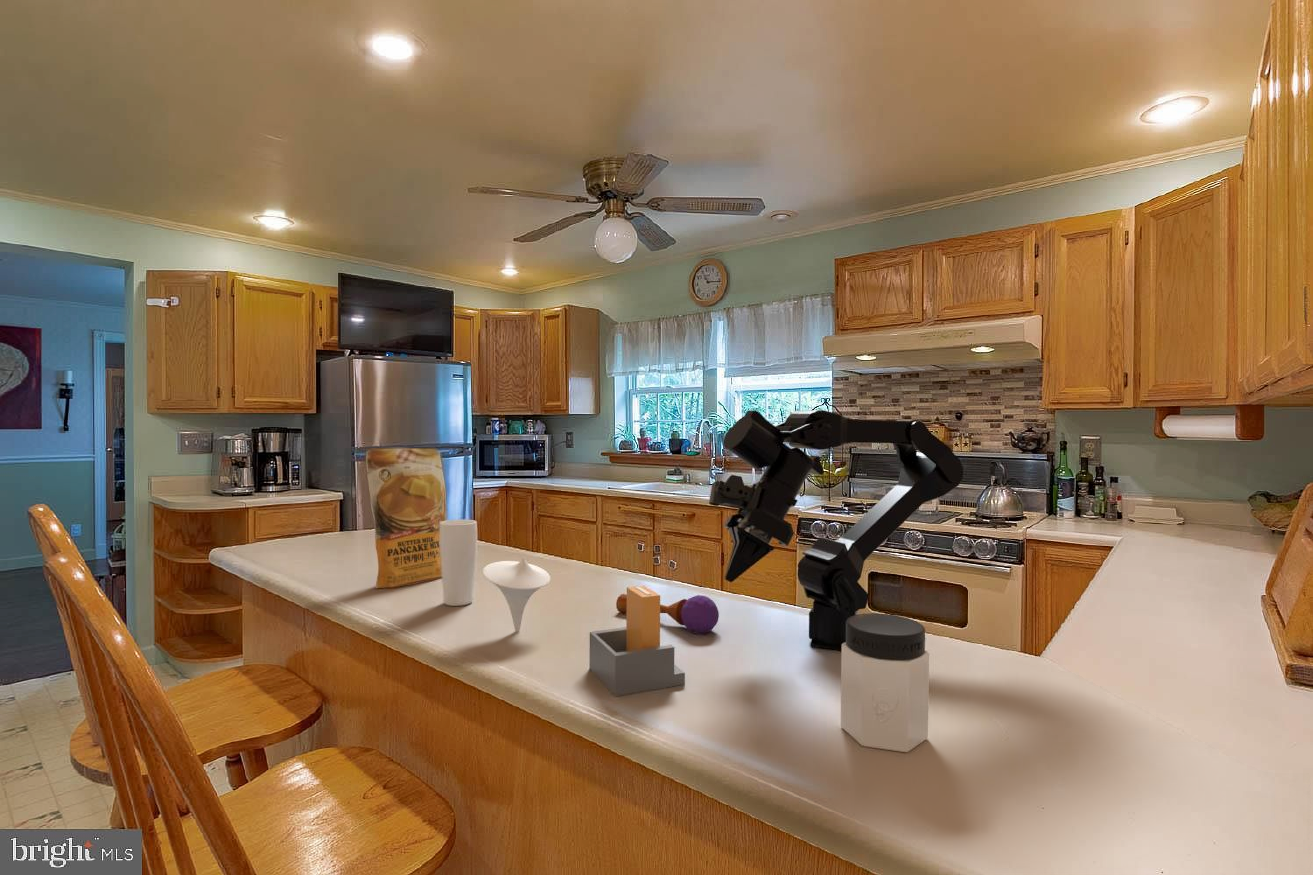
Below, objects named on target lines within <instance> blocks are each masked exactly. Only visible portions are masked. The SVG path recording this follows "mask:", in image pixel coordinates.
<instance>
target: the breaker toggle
mask: <svg viewBox="0 0 1313 875" xmlns="http://www.w3.org/2000/svg"><path fill="white" fill-rule="evenodd" d="M626 595H627V613H626V626H625V627H626V651H632V650H639V649H646V648H652V647H659V646H661V613H660V604H661V594H658V592H656V591H654V590H652V589H651V588H648V587H647V586H646V585H635V586H627V587H626Z"/></svg>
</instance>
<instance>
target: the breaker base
mask: <svg viewBox="0 0 1313 875" xmlns="http://www.w3.org/2000/svg"><path fill="white" fill-rule="evenodd" d="M588 665H589V670H590V671H591V672H592V673H593V674H594V675H595V676H596V677H597V679H598V680H600V681H601V684H603V685H604V686H605V687H606V688H607V689H608V691H610V692H611V694H612V695H613V696H614V697H621V696H626V695H633V694H637V693H644V692H649V691H655V690H660V689H665V688H666V689H667V688H671V687H672V688H673V687H678V686H683V685H685V684H686V680H685V679H686V672H685V671H683V670H682V669H681V668H679V667H678V666H677V665H676V664H675V646H674V645H672V644H666V645H660V646H659V647H652V648H646V649H639V650H632V651H626V626H625V627H619V628H618V627H617V628H611V629H602V630H596V631H595V630H593V631H590V632H589V664H588Z"/></svg>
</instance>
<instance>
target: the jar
mask: <svg viewBox="0 0 1313 875" xmlns="http://www.w3.org/2000/svg"><path fill="white" fill-rule="evenodd" d="M840 654H841V656H840V657H841V658H840V660H841V661H840V662H841V663H840V666H841V667H840V669H841V671H840V672H841V673H840V727H841V728H842V729H843V730H844V731H845V732H846V733H847V734H848V735H850V737H851V738H852V739H854V740H855V741H856V742H857V743H858V744H859V745H860V746H861V747H864V748H865V747H866V748H872V749H880V750H887V751H893V752H899V753H906V754H907V753H909V752H910V751H912V750H913V749H914V748H916V747H917V746H920V744H922V743H923V742H924V741H926V740H927V739H928V738H929V692H930V691H929V685H930V683H929V681H930V679H929V678H930V652H928V651H927V650H926V627H925V626H924V625H923V624H921V623H920V622H918V621H916V620H914V619H911V618H909V617H905V616H901V615H900V616H899V615H895V614H888V613H876V612H873V613H872V612H871V613H870V612H869V613H859V614H858V613H857V615H854V616H851V617H849V618H848V619H847V620H846V642H845V643H842V650H841V653H840Z"/></svg>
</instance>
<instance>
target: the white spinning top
mask: <svg viewBox="0 0 1313 875" xmlns="http://www.w3.org/2000/svg"><path fill="white" fill-rule="evenodd" d="M482 576H483V577H484V578H485V579H486V580H487V581H489V582H490V583H492V584H493V585H494V586H495V587H497V588H498V589H499V591H500V592H501V593H502V595H503V596H504V598H505V600H506V602H507V605H508V608H509V611H510V614H511V615H510V616H511V619H512V623H513V627H514V631H515V632H517V633H518V632H520V630H521V625H522V620H523V614H524V611H525V607H526V605H527V604H528V601H529V600H530V599H531V597H532V596H533V594H535V593H536V592H537V591H539V590H540V589H541V588H543V587H545V586H547V585H548V584H549V583H550V582H551V575H550V574H549V573H548V571H546V570H545V569H543V568H541V567H539V566H538V565H535V564H531V563H529V562H527V561H526V558H525V557H522V558H521V560H520V561H514V560H501V561H495V562H491V563H490V564H487V565H486V566H484V568H483V569H482Z"/></svg>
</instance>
